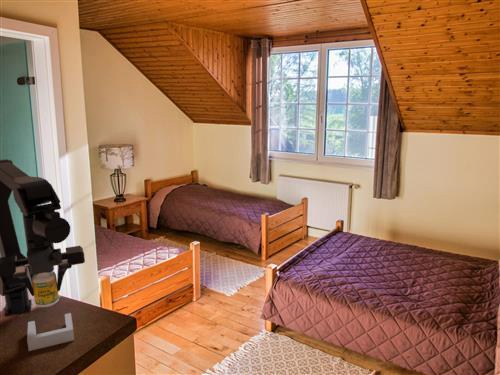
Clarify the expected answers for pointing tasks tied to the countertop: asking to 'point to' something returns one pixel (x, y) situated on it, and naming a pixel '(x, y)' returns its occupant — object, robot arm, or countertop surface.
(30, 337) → the notched board
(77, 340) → the countertop surface
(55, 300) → the supplement bottle
